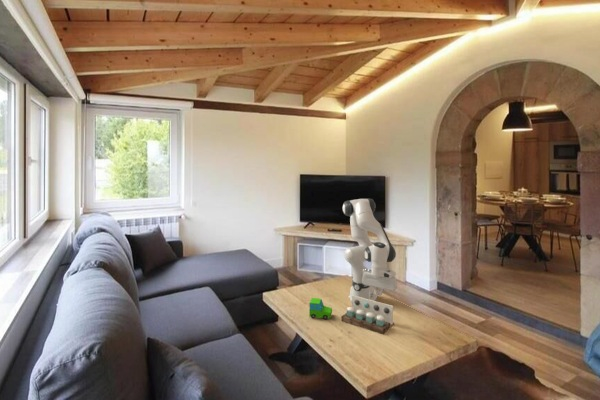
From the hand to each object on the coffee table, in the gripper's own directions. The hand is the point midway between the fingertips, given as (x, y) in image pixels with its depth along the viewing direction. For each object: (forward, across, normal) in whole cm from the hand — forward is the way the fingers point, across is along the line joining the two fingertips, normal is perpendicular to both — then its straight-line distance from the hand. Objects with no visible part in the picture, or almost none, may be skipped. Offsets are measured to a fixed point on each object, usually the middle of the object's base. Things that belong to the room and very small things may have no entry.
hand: (378, 295), depth 199 cm
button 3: (+17, -6, +1) cm, 18 cm away
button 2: (+17, -12, +1) cm, 21 cm away
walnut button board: (+20, -9, +1) cm, 22 cm away
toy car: (+20, -36, -7) cm, 42 cm away
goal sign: (+20, -9, +9) cm, 24 cm away
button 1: (+17, -19, +1) cm, 25 cm away
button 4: (+18, +1, +1) cm, 18 cm away
